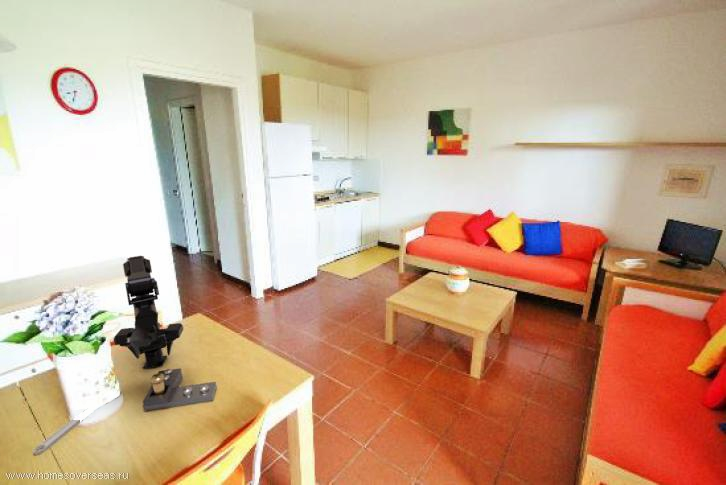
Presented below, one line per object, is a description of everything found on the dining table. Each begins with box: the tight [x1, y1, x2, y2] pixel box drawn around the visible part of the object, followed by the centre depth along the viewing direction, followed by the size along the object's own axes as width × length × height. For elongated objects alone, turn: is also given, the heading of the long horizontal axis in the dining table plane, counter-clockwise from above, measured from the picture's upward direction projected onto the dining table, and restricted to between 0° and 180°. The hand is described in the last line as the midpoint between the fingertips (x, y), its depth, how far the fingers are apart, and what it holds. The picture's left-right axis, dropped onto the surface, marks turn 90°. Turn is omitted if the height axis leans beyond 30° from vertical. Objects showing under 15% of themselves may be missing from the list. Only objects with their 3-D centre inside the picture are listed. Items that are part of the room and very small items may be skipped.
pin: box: [149, 373, 166, 396], centre depth 109 cm, size 4×4×9 cm
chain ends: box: [142, 368, 218, 412], centre depth 114 cm, size 15×20×5 cm
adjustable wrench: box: [32, 418, 81, 456], centre depth 103 cm, size 25×6×2 cm, turn 165°
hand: (153, 356), depth 114 cm, fingers open, 9 cm apart
